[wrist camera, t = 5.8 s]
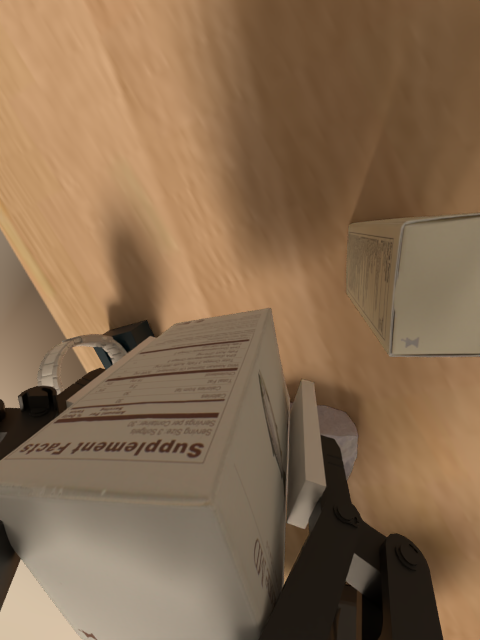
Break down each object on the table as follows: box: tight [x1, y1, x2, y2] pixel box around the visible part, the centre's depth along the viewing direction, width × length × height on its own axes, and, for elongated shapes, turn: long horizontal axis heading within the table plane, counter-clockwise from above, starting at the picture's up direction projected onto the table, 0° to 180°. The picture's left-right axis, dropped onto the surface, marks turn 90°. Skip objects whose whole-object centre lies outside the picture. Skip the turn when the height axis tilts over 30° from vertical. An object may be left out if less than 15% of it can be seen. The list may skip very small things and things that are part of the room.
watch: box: [38, 320, 155, 395], centre depth 25 cm, size 6×8×11 cm
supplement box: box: [0, 308, 290, 640], centre depth 12 cm, size 7×7×13 cm
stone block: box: [287, 403, 358, 488], centre depth 29 cm, size 12×5×10 cm
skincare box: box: [346, 213, 480, 357], centre depth 16 cm, size 6×4×12 cm
